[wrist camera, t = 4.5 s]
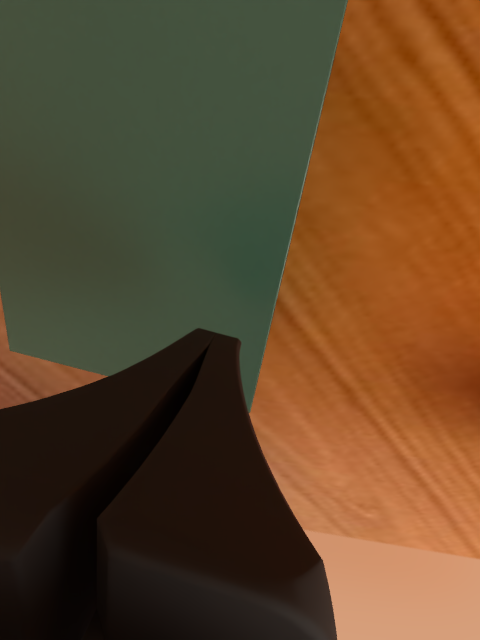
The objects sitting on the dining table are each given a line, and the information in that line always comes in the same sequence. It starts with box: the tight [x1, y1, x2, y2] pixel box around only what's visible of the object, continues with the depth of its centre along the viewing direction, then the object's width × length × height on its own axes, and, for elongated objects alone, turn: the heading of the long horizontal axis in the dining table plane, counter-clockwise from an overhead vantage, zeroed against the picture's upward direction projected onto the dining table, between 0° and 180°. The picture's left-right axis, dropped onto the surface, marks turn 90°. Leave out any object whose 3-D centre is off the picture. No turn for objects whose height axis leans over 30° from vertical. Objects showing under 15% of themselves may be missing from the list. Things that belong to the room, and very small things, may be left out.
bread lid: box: [0, 0, 348, 413], centre depth 13 cm, size 14×12×1 cm
